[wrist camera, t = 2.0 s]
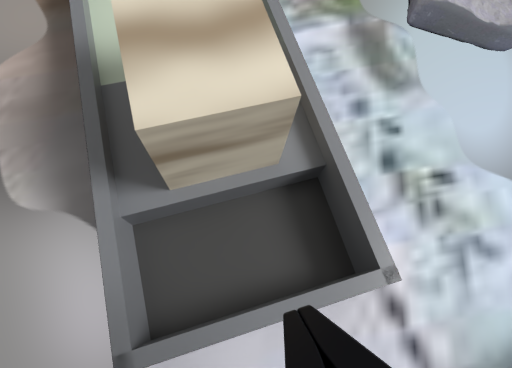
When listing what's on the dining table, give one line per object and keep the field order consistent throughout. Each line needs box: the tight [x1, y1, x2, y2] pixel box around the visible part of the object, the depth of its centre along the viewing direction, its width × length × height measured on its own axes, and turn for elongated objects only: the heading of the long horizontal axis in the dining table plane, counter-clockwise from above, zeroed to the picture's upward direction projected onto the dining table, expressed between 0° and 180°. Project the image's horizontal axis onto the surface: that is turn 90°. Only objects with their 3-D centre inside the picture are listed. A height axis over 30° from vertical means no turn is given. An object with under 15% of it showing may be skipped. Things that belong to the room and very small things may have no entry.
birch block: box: [111, 0, 301, 190], centre depth 19 cm, size 10×8×8 cm
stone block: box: [407, 0, 512, 51], centre depth 33 cm, size 12×5×10 cm
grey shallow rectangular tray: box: [69, 0, 402, 368], centre depth 25 cm, size 38×17×4 cm, turn 17°
